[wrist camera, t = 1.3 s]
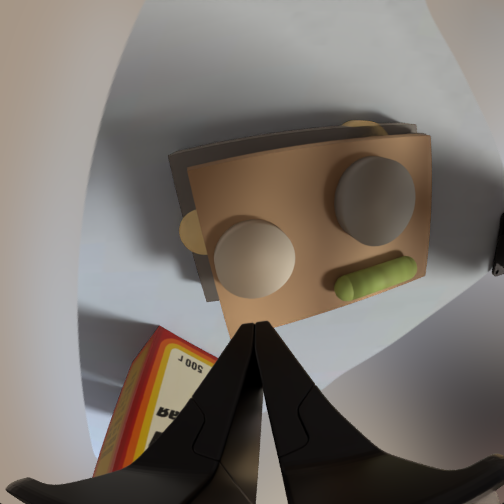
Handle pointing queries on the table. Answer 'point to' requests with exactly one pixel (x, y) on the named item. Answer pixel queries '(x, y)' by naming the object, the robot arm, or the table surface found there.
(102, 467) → the baking soda box
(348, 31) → the table surface
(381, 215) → the level plate
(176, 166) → the instrument base
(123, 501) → the robot arm
